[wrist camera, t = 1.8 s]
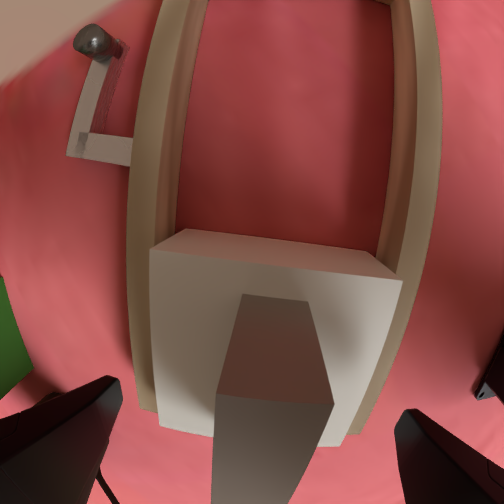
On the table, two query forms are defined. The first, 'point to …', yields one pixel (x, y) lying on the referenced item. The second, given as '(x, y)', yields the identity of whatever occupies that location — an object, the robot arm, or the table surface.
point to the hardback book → (11, 347)
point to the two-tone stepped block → (264, 350)
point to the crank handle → (98, 99)
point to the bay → (169, 159)
